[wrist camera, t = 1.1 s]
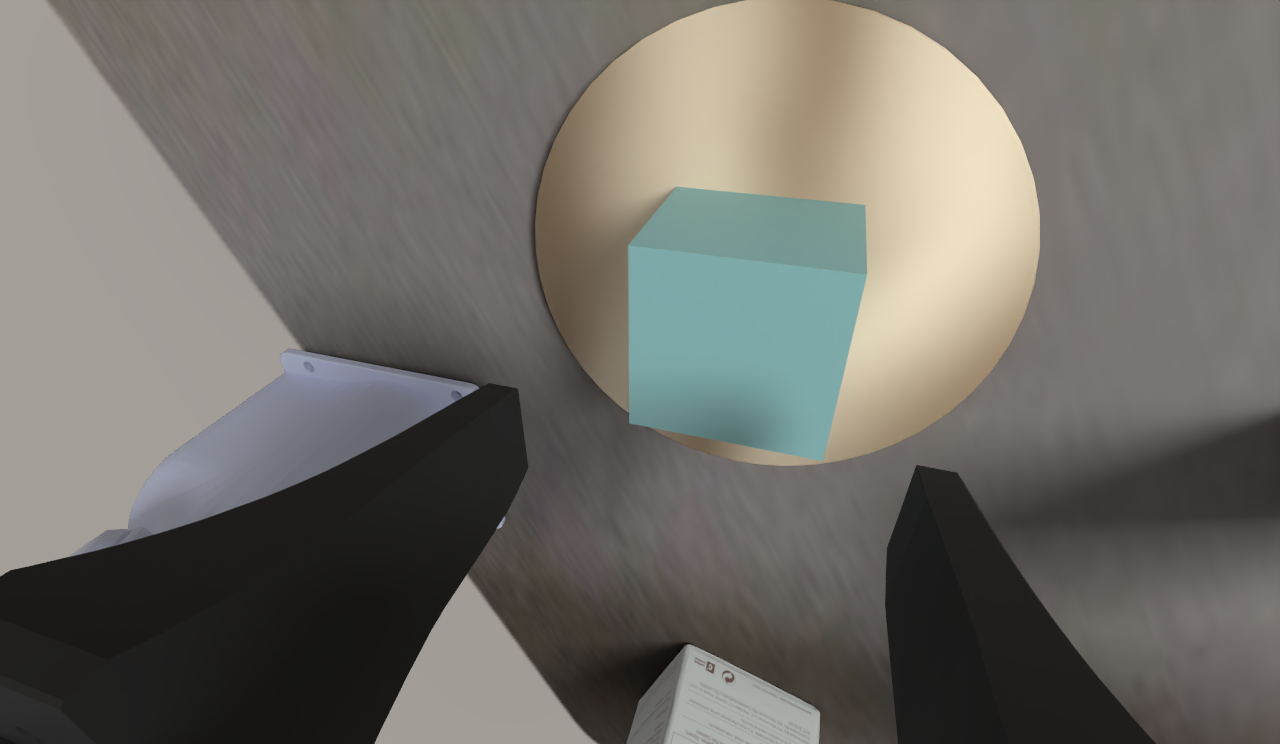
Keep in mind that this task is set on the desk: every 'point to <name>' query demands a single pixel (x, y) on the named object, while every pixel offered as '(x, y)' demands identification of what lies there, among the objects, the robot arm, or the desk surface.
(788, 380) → the teal block
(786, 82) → the post base
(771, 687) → the supplement box
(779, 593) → the desk surface
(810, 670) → the desk surface
